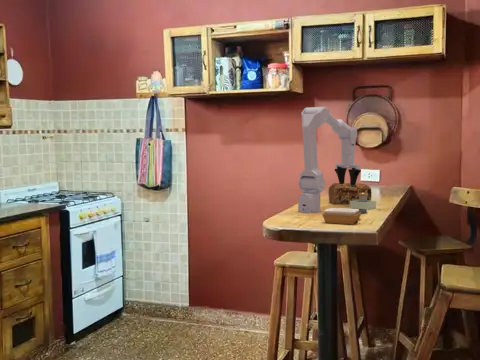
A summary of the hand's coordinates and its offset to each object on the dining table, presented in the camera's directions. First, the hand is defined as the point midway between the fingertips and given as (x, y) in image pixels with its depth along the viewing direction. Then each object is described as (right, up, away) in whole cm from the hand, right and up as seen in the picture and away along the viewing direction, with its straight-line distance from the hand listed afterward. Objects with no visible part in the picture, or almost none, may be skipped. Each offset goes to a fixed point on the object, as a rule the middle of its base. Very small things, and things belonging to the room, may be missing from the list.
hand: (347, 184), depth 251 cm
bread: (+5, -9, +18) cm, 21 cm away
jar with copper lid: (+5, -11, -9) cm, 15 cm away
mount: (-1, -12, -22) cm, 25 cm away
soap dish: (-10, -14, -41) cm, 45 cm away
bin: (+5, -11, -9) cm, 15 cm away
